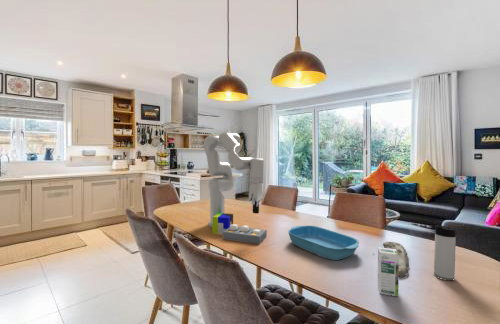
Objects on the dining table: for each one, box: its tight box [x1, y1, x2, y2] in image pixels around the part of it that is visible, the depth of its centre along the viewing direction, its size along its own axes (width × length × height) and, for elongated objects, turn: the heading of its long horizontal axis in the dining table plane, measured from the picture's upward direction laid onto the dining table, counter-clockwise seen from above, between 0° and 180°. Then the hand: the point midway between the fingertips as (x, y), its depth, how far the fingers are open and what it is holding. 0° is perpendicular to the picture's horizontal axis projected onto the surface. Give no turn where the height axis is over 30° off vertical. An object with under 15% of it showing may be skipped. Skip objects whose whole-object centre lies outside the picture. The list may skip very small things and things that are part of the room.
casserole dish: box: [287, 225, 360, 261], centre depth 124 cm, size 37×22×7 cm, turn 37°
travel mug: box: [433, 225, 457, 281], centre depth 95 cm, size 6×7×20 cm
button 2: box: [253, 228, 260, 234], centre depth 137 cm, size 4×4×4 cm
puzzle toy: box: [212, 213, 234, 235], centre depth 151 cm, size 10×10×10 cm
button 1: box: [230, 223, 239, 231], centre depth 142 cm, size 4×4×4 cm
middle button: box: [240, 225, 250, 233], centre depth 139 cm, size 4×4×4 cm
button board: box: [222, 226, 268, 245], centre depth 140 cm, size 12×22×4 cm, turn 69°
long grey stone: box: [382, 241, 410, 277], centre depth 111 cm, size 35×5×10 cm
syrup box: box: [377, 246, 400, 298], centre depth 85 cm, size 6×6×14 cm
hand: (255, 212), depth 137 cm, fingers closed
